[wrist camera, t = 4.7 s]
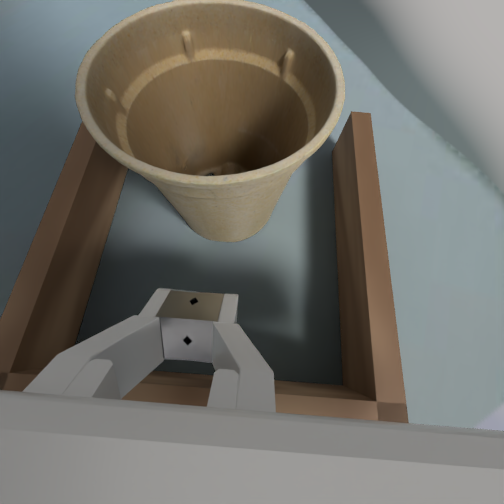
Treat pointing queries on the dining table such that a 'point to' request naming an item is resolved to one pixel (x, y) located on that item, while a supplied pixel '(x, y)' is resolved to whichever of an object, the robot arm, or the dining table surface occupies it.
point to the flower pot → (212, 106)
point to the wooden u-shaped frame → (198, 385)
